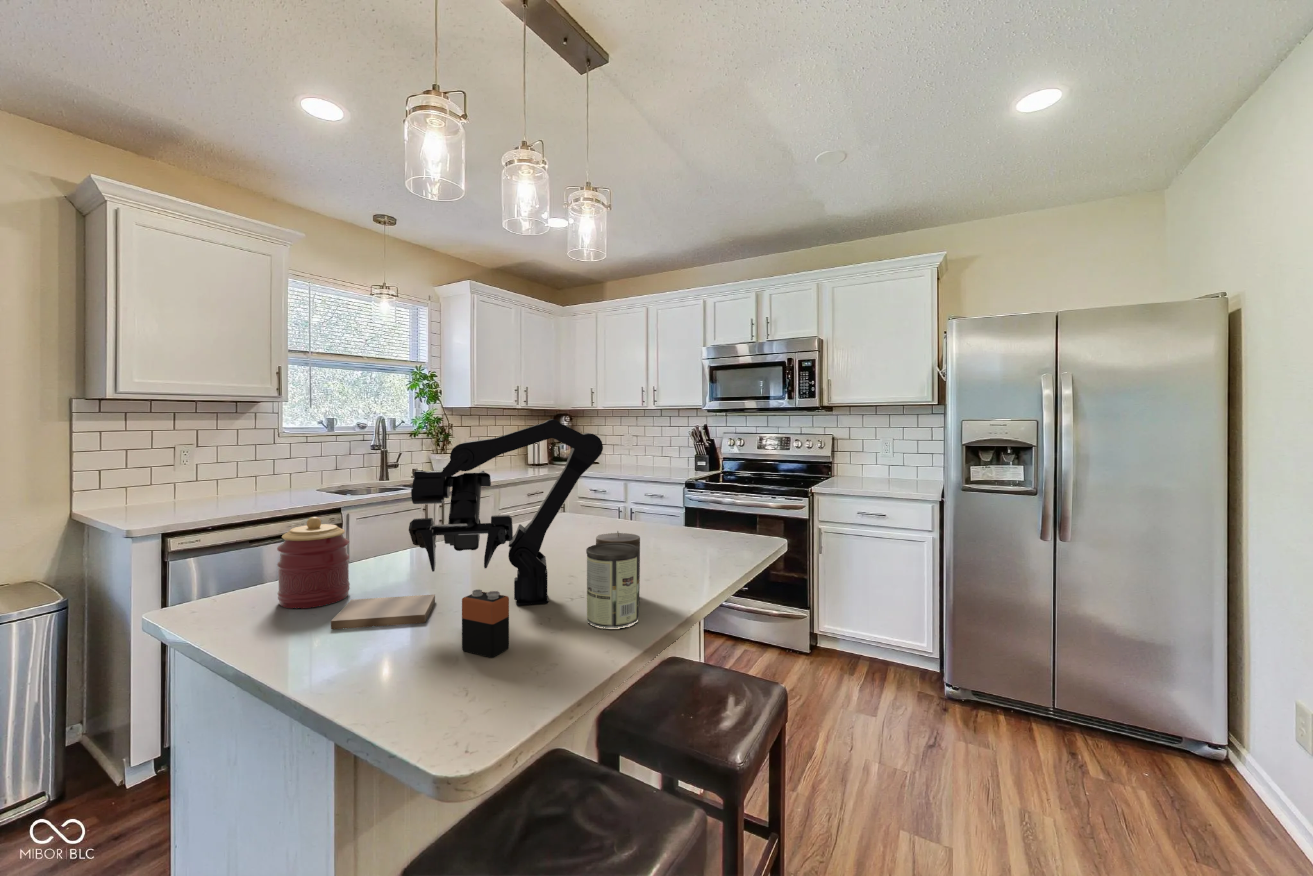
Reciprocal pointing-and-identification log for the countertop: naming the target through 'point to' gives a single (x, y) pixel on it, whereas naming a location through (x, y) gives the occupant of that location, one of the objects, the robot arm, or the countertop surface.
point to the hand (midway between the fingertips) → (459, 569)
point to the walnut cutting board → (384, 611)
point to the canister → (313, 566)
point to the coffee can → (612, 584)
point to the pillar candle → (620, 541)
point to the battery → (485, 623)
